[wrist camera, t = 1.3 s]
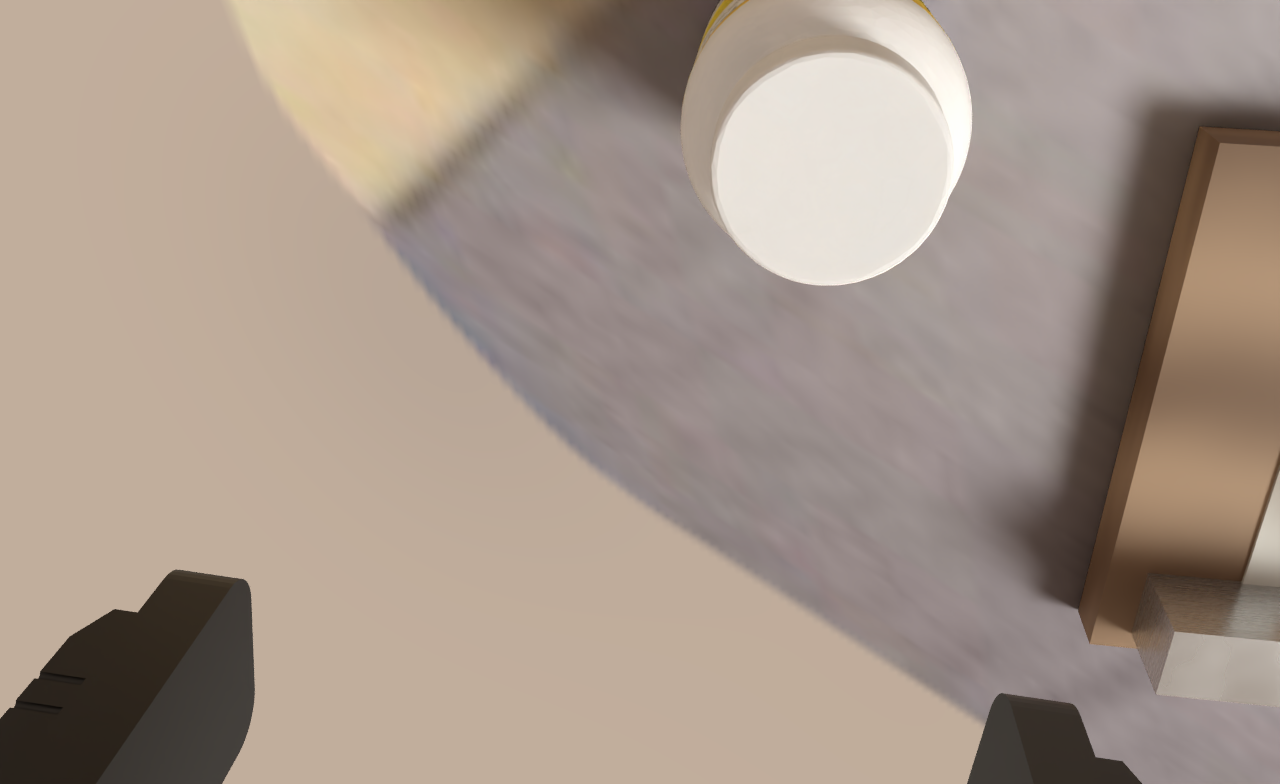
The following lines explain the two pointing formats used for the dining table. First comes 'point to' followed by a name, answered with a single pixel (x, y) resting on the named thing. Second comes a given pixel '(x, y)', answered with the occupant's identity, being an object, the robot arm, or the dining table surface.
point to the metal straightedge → (1210, 639)
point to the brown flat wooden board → (1202, 397)
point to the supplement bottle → (825, 132)
